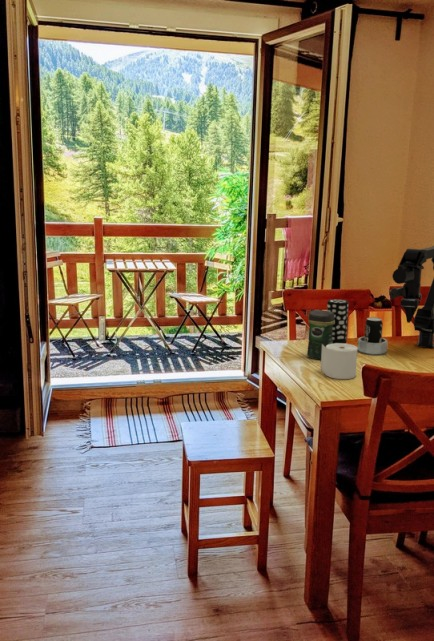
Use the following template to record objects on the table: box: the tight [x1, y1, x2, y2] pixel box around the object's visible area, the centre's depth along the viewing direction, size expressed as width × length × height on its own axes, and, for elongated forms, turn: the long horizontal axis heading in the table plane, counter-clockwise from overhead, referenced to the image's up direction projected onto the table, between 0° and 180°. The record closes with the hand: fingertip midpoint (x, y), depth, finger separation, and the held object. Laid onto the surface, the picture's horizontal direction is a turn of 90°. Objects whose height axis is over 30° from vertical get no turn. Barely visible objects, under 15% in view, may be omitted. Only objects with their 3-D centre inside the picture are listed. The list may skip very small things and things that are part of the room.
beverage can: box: [364, 316, 384, 343], centre depth 217 cm, size 7×7×12 cm
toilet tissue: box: [320, 343, 358, 380], centre depth 188 cm, size 11×12×10 cm
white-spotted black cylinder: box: [326, 298, 349, 344], centre depth 219 cm, size 8×8×20 cm
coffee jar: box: [306, 309, 335, 361], centre depth 208 cm, size 10×8×19 cm
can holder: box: [357, 336, 388, 356], centre depth 218 cm, size 12×12×5 cm
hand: (409, 320), depth 214 cm, fingers open, 9 cm apart
